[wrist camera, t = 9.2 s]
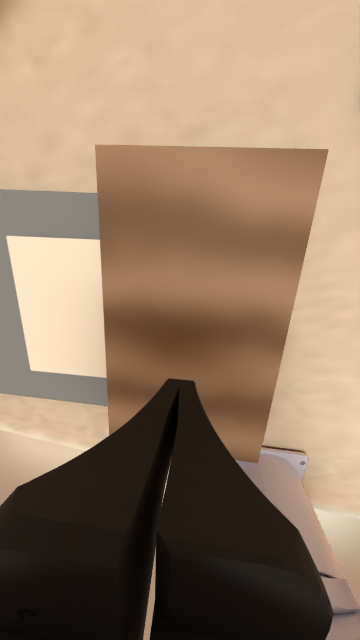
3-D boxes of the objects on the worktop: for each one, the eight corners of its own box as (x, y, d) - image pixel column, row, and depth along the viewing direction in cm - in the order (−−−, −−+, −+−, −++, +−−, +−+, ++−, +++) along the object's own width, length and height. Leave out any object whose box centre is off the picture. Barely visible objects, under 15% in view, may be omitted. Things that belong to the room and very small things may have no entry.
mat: (116, 404, 22) (115, 407, 21) (-36, 386, 23) (-40, 388, 23) (109, 195, 16) (106, 193, 16) (-92, 187, 18) (-98, 185, 17)
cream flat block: (117, 370, 20) (111, 378, 19) (42, 362, 21) (30, 370, 19) (111, 241, 17) (103, 239, 15) (22, 237, 17) (6, 235, 16)
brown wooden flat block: (250, 436, 21) (257, 463, 18) (121, 420, 22) (109, 443, 20) (303, 171, 15) (328, 149, 12) (114, 166, 16) (95, 144, 13)
